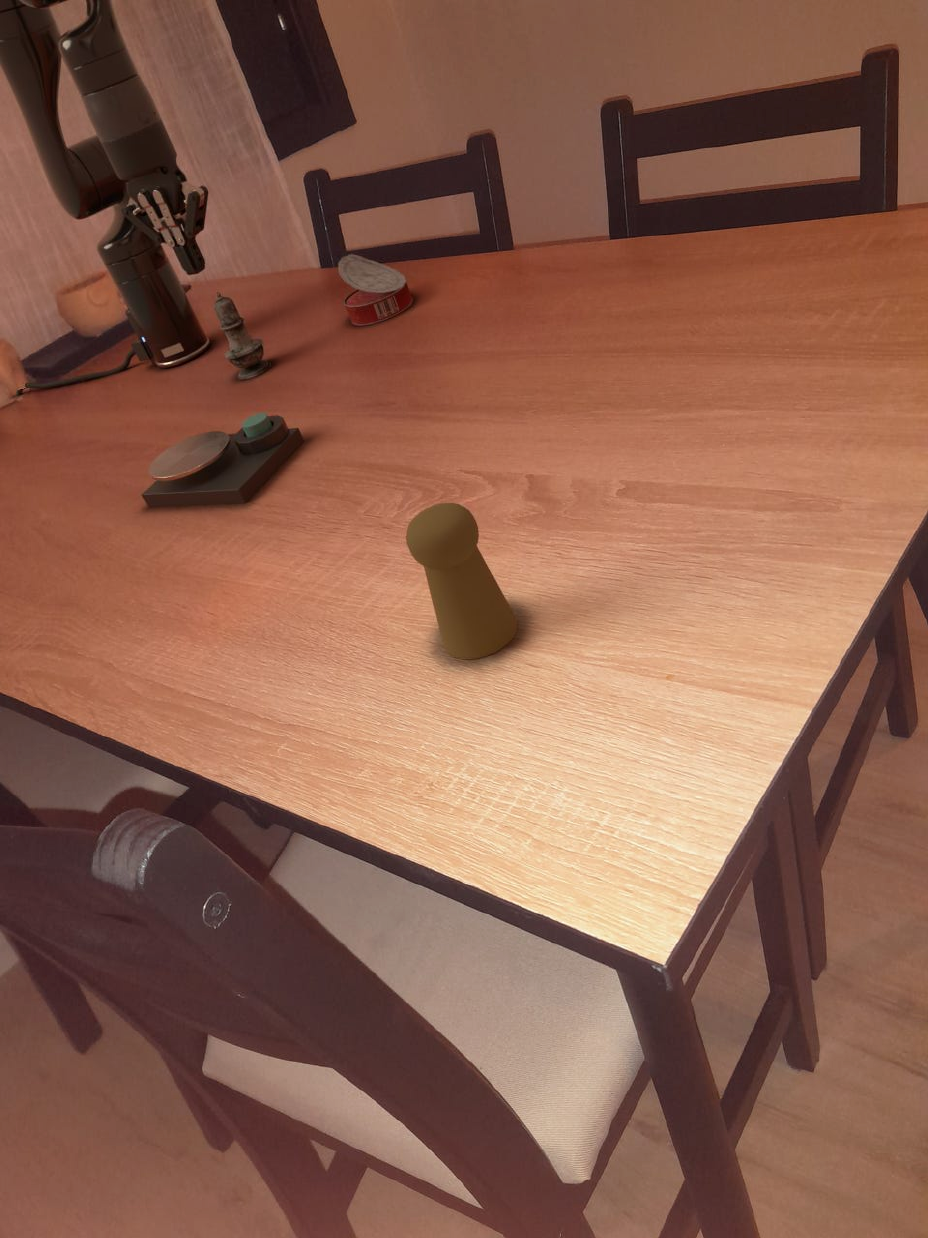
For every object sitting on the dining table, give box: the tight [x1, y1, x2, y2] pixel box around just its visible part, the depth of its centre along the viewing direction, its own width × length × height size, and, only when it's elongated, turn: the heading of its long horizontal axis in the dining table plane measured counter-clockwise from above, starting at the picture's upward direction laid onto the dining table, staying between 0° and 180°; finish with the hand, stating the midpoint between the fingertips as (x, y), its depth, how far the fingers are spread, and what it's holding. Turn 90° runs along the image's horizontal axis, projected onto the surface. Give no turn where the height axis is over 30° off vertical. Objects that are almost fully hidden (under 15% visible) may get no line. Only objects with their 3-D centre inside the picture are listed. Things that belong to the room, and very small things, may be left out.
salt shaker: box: [213, 291, 272, 381], centre depth 135 cm, size 6×6×12 cm
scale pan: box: [148, 430, 230, 481], centre depth 110 cm, size 10×10×1 cm
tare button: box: [241, 412, 272, 437], centre depth 110 cm, size 3×3×2 cm
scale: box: [140, 414, 305, 509], centre depth 111 cm, size 15×14×4 cm
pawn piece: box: [405, 502, 519, 660], centre depth 70 cm, size 6×6×11 cm
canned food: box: [337, 253, 414, 327], centre depth 141 cm, size 11×10×10 cm
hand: (196, 271), depth 120 cm, fingers closed
